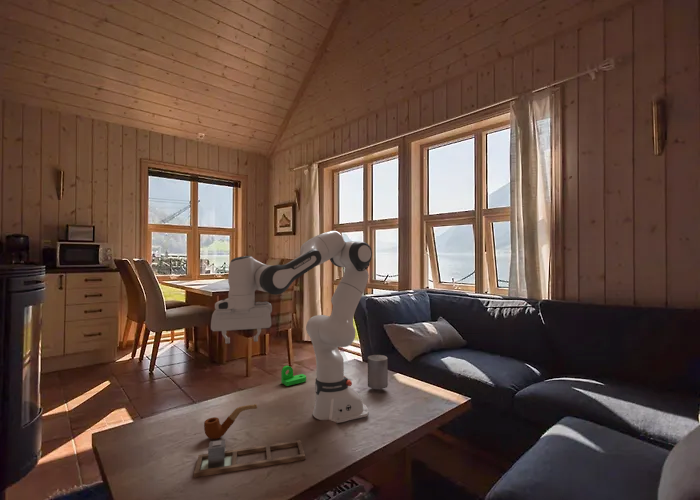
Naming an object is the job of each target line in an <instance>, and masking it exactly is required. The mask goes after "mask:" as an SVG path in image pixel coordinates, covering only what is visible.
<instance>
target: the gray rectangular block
mask: <svg viewBox="0 0 700 500" xmlns="http://www.w3.org/2000/svg"><path fill="white" fill-rule="evenodd" d="M207 449H208V450H207V452H208V453H207V454H208V469H210V468H217V467H223V466H225V451H226V439H219V440H218V439H217V440H211V441H209V444H208V448H207Z"/></svg>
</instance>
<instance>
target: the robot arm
mask: <svg viewBox="0 0 700 500" xmlns="http://www.w3.org/2000/svg"><path fill="white" fill-rule="evenodd" d="M299 252H300V253H299V254H300V255H298V256H297V257H296V258H294V259H292V260H291V261H289V262H287V263H284V264H273V265H272V264H266V263H262V262H261V261H259V260H257V259H256V258H254V257H253V256H252V255H244V256H243V255H241V256H238V257H234V258H233V259H231V260H230V262H229V265H228V273H227V274H228V275H227V276H228V277H227V281H228V285H229V291H228V293H227V294H228V297H227V298H224V299H221V300H219V301H216V302H215V303H214V311H213V312H212V314H211V320H210V330H211V331H212V332H221V335H222V336H223V338H224V341H225V344H231V337H230V336H227V331H238V330H239V331H240V330H241V331H242V330H256V332H257V333H256V334H255V335H253V343H254V342H255V343H256V342H259V336H260V334H261V333H262V329H269V328H271V327H272V316H271V314H272V312H273V305H272V304H271V303H270V302H269V301H267V300H266V301H255V300H256V298H255V297H256V295H255V292H256V291H261V292H263V293H268V294H270V295H276V296H277V295H281V294H283V293H285V292H286V291H287V290H288V289H289V288H290V287H291V285H292V284H293V282H294V281H296V280H297V279H298V278H300V277H301V276H303V275H305V274H307V273H308V272H310V270H312V269H314V268H315V267H318V266H320V265H322V264H324V263H326V262H327V261H330V262H331V264H332V265H333V266H335V267H338V268H344V273H343V277H342V278H341V279H340V282H339V283H338V285H337V286H336V288H335V291H334V292H333V295H332V296H331V300H330V302H331V304H332V309H331V313H330V315H325V314H318V315H313V316H312V317H310V318H309V319H308V321H307V323H306V326H305V329H306V334H307V335H308V337H309V339H310V341H311V345H312V348H313V350H314V355H315V363H316V364H315V365H316V366H315V367H316V378H315V381H314V382H315V383H314V388H315V389H314V390H315V400H314V401H315V403H314V407H313V411H312V416H313V417H314V418H315V419H317V420H320V421H327V420H329V421H332V422H335V423H336V424H338V423H344V422H347V421H352V420H356V419H360V418H364V417H368V416H369V408H368V407H367V405H366V404H364V403H363V398H362V396H361V395H360V394H359V392H358V391H356V390H355V389H354V388H352V387H351V386H352V384H353V383H352V381H351V379H348V377H346V376H345V375H344V374H345V373H344V371H345V370H344V366H345V364H344V358H343V357H344V356H343V355H342V353H341V352H340V350H339V348H346V347H349V346H350V345H352V344H353V343H354V342H355V341H354V340H355V338H356V329H355V328H356V327H355V325H354V317H355V312H356V309H357V307H358V305H359V303H360V300H361V299H362V297H363V294H364V292H365V290H366V287H367V284H368V281H369V277H370V275H369V272H368V270H367V269H368V268H369V267H370V263H371V261H372V257H373V250H372V248H371V245H370V244H369V243H367V242H365V241H362V240H357V241H345V239H344V237H343V235H342V234H341V233H340V232H339V231H338V230H329V231H325V232H323V233H320V234H317V235H315V236H313V237H311V238H310V239H308V240H307V241H305V242H303V244H301V246H300V251H299Z"/></svg>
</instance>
